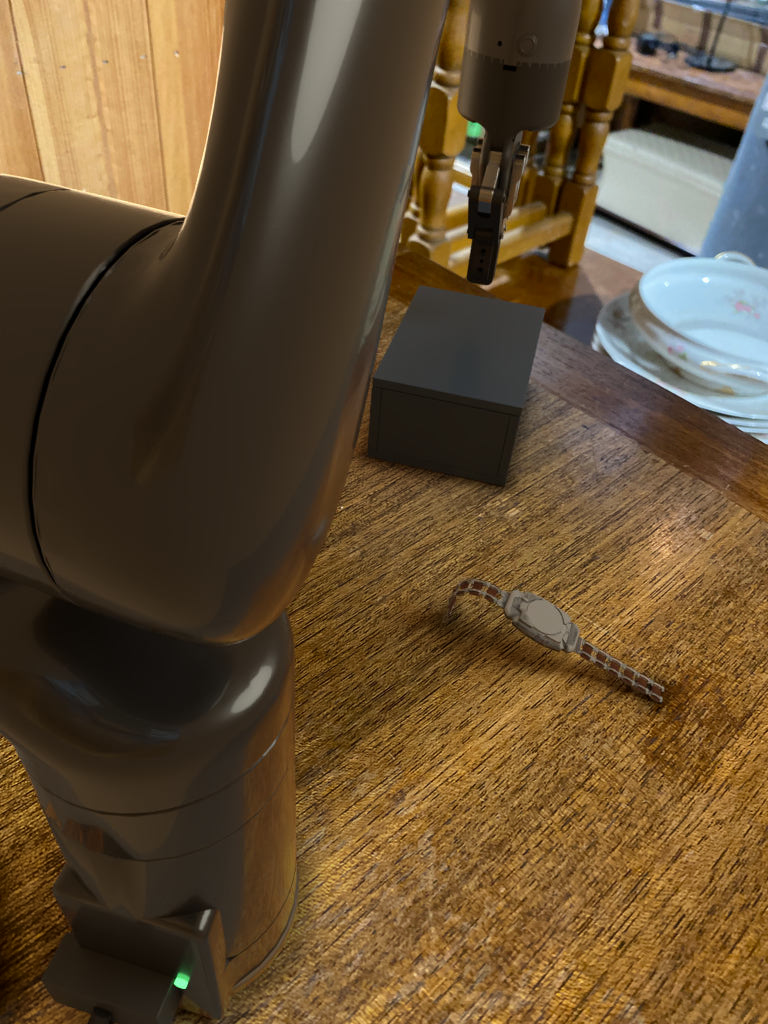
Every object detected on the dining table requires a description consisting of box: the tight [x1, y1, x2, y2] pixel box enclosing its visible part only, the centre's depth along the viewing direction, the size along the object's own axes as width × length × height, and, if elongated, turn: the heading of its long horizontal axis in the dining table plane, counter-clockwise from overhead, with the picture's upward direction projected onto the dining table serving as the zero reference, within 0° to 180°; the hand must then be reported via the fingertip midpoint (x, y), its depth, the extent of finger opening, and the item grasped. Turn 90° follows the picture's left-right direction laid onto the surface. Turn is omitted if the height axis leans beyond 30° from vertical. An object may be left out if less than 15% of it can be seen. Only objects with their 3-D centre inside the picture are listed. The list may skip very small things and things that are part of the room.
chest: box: [366, 382, 530, 487], centre depth 67 cm, size 16×12×7 cm
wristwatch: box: [442, 578, 666, 704], centre depth 50 cm, size 4×14×5 cm, turn 67°
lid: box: [371, 285, 546, 417], centre depth 65 cm, size 16×12×1 cm
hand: (479, 280), depth 65 cm, fingers closed
